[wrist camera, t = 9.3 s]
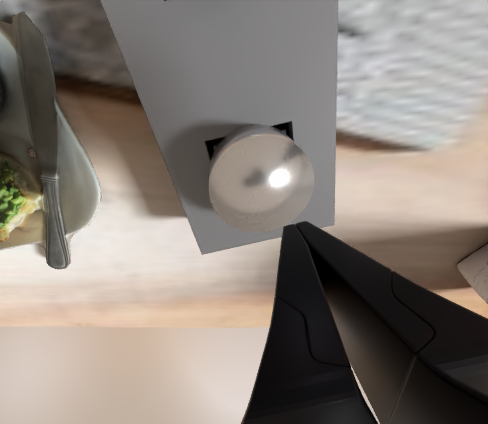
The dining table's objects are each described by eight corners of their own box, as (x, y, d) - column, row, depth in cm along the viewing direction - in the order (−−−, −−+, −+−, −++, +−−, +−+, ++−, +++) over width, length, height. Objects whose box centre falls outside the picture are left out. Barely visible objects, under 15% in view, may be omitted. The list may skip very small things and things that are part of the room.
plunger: (278, 102, 17) (312, 123, 11) (285, 174, 20) (315, 220, 14) (200, 120, 17) (194, 150, 11) (220, 189, 20) (223, 241, 14)
